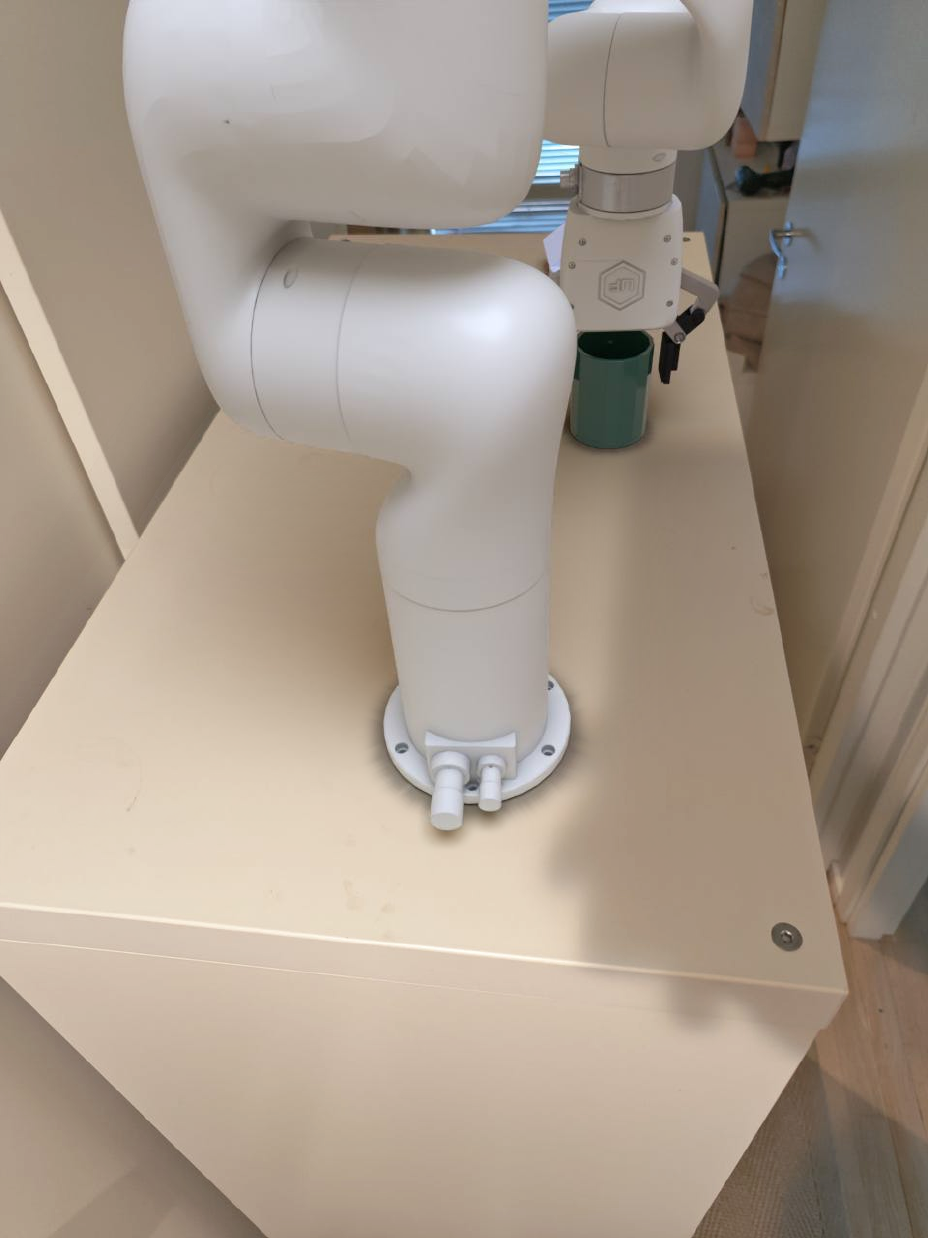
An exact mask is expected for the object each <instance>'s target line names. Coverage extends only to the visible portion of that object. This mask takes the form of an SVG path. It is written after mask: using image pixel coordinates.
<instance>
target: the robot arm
mask: <svg viewBox="0 0 928 1238" xmlns="http://www.w3.org/2000/svg"><path fill="white" fill-rule="evenodd" d="M128 1H129V2H128V5H127V10H126V14H125V20H124V21H125V22H124V27H123V33H122V35H123V36H122V61H121V70H122V71H121V74H122V87H123V100H124V105H125V112H126V117H127V122H128V128H129V131H130V135H131V136H130V137H131V140H132V144H133V148H134V151H135V155H136V159H137V163H138V167H139V171H140V174H141V178H142V182H143V184H144V188H145V191H146V194H147V198H148V202H149V203H150V208H151V211H152V215H153V218H154V222H155V224H156V225H155V226H156V228H157V231H158V235H159V238H160V242H161V245H162V248H163V251H164V255H165V258H166V261H167V265H168V268H169V272H170V275H171V278H172V281H173V285H174V289H175V291H176V295H177V299H178V301H179V304H180V308H181V312H182V314H183V319H184V322H185V324H186V325H185V326H186V328H187V332H188V335H189V338H190V341H191V344H192V347H193V350H194V353H195V357H196V360H197V363H198V365H199V368H200V371H201V374H202V377H203V379H204V381H205V383H206V386H207V388H208V390H209V391H210V393H211V396H212V397H213V400H214V401H215V403H216V404H217V406H218V407H219V408H220V410H221V411H222V412H223V413H224V415H226V416H227V418H229V420H230V421H232V422H233V423H234V424H235V425H236V426H238V427H240V428H241V429H242V430H245V431H246V432H248V433H250V434H253V435H256V436H259V437H262V438H266V439H270V440H273V441H278V442H283V443H289V444H294V445H299V446H304V447H311V448H317V449H324V450H329V451H336V452H341V453H347V454H353V455H360V456H364V457H366V458H369V459H376V460H381V461H386V462H391V463H394V464H396V465H399V466H401V467H403V468H405V469H406V471H405V472H404V473H403V474H402V475H401V476H400V478H399V479H398V480H397V481H396V482H395V484H394V485H393V486H392V487H391V489H390V490H389V492H388V493H387V495H386V497H385V499H384V500H383V503H382V504H381V506H380V509H379V512H378V516H377V520H376V523H375V524H376V525H375V547H376V554H377V555H376V556H377V560H378V566H379V570H380V577H381V583H382V589H383V594H384V601H385V606H386V607H385V608H386V613H387V619H388V625H389V630H390V637H391V642H392V648H393V655H394V661H395V667H396V672H397V678H398V684H397V686H396V687H395V688H394V690H393V692H392V693H391V694H390V697H389V699H388V701H387V703H386V706H385V710H384V716H383V721H382V722H383V723H382V725H383V726H382V727H383V737H384V741H385V745H386V750H387V753H388V756H389V757H390V760H391V761H392V763H393V765H394V766H395V768H396V769H397V770H398V771H399V773H400V774H401V775H402V777H404V778H405V779H406V780H407V781H408V782H409V783H411V784H412V785H413V786H414V787H416V788H417V789H419V790H421V791H422V792H425V793H426V794H429V795H430V796H431V803H430V813H429V823H430V825H431V826H432V827H433V828H435V829H438V830H441V831H453V830H458V829H460V828H461V827H462V825H463V821H464V820H463V818H464V805H465V804H467V805H469V804H471V805H472V804H473V805H474V804H477V805H478V807H479V809H480V810H482V811H484V812H497V811H498V810H500V809H501V807H502V801H506V800H509V799H512V798H513V797H517V796H519V795H522V794H524V793H526V792H528V791H529V790H531V789H533V788H535V787H536V786H538V785H539V784H541V783H542V782H543V781H544V780H546V778H547V777H548V776H550V775H551V774H552V773H553V772H554V770H555V769H556V767H557V766H558V765H559V764H560V762H561V761H562V759H563V757H564V755H565V753H566V750H567V748H568V745H569V740H570V736H571V721H572V716H571V711H570V704H569V702H568V699H567V696H566V694H565V692H564V690H563V688H562V687H561V685H560V684H559V682H558V681H557V680H556V678H554V676H553V675H551V674H550V672H549V670H550V667H549V666H550V665H549V664H550V627H551V626H550V622H551V621H550V620H551V584H552V583H551V581H552V580H551V579H552V578H551V576H552V531H553V530H552V529H553V528H552V527H553V526H552V525H553V506H554V505H553V504H554V493H555V492H554V491H555V480H556V473H557V465H558V459H559V453H560V446H561V441H562V435H563V430H564V425H565V421H566V415H567V411H568V407H569V401H570V398H571V388H572V383H573V378H574V370H575V363H576V356H577V334H578V333H579V332H606V331H640V330H645V331H655V330H661V329H662V330H664V331H662V332H661V340H660V347H659V357H658V364H657V365H658V366H657V367H658V373H659V379H660V383H662V384H663V385H670V381H671V375H672V374H671V373H672V372H677V371H678V367H679V361H680V360H679V359H680V352H681V346H682V344H683V343H684V342H685V341H686V339H687V336H689V334H691V333H692V332H693V331H694V330H695V329H697V328H698V327H699V326H700V325H701V324H702V323H704V321H705V319H706V316H707V314H708V313H710V311H711V310H712V309H713V307H714V305H715V304H716V302H718V300H719V298H720V295H721V293H720V289H719V286H718V285H717V284H716V283H714V282H712V281H711V280H708V279H706V278H705V277H703V276H700V275H698V274H696V273H694V272H693V271H691V270H688V269H686V267H685V268H684V267H683V257H684V256H683V253H684V218H683V206H682V205H683V204H682V202H681V200H680V198H679V197H678V196H677V195H676V194H674V185H675V184H674V183H675V177H676V176H675V175H676V167H677V159H678V151H699V150H702V149H706V148H709V147H712V146H713V145H715V144H716V143H717V142H719V141H720V140H721V139H723V137H725V135H726V134H727V133H728V132H729V130H730V129H731V127H732V126H733V124H734V122H735V120H736V118H737V115H738V113H739V110H740V107H741V103H742V100H743V97H744V91H745V85H746V80H747V73H748V65H749V56H750V44H751V34H752V23H753V11H754V0H593V1H592V2H591V4H590V5H589V7H588V8H587V9H584V10H580V11H574V12H568V13H565V14H562V15H559V16H557V17H555V18H554V19H552V20H550V21H549V10H550V9H549V6H550V5H549V3H550V0H128ZM544 140H545V141H547V142H549V143H552V144H557V145H562V146H572V147H578V156H577V157H578V159H577V163H574V167H570V168H569V169H567V170H566V169H565V170H560V171H559V189H560V190H569V191H571V192H572V191H573V194H574V195H575V196H573V197H572V198H571V199H570V201H569V204H568V208H567V212H566V218H565V221H566V222H565V221H564V222H565V227H564V237H563V242H562V251H561V262H560V270H558V271H556V272H554V273H552V274H550V275H549V274H548V275H546V274H545V273H544V272H543V271H540V270H539V269H537V268H536V267H534V266H531V265H529V264H527V263H525V262H522V261H519V260H516V259H513V258H509V257H505V256H502V255H499V254H495V253H490V252H483V251H477V250H469V249H468V250H467V249H457V248H456V249H454V248H444V247H433V246H423V245H412V244H401V243H390V242H386V243H373V242H372V243H371V242H359V241H350V240H340V239H339V240H336V239H329V238H328V239H325V238H316V237H314V235H313V231H312V227H311V222H312V223H323V224H325V223H326V224H337V225H349V226H364V227H374V228H375V227H376V228H392V229H405V230H406V229H407V230H408V229H409V230H462V229H463V230H464V229H465V230H466V229H472V228H477V227H482V226H486V225H490V224H492V223H495V222H497V221H499V220H501V219H503V218H504V217H508V216H509V215H510V214H511V213H512V212H514V211H515V210H516V208H517V207H518V206H519V205H521V203H522V202H523V201H524V200H525V199H526V198H527V196H528V194H529V192H530V189H531V187H532V185H533V183H534V181H535V178H536V176H537V173H538V169H539V166H540V165H539V164H540V161H541V156H542V151H543V150H542V149H543V142H544ZM681 290H683V291H686V292H687V293H689V294H691V295H693V296H695V297H696V298H695V300H694V303H693V304H691V305H690V306H688V307H687V308H686V309H685V310H683V312H682V313H681V314H678V313H679V308H680V299H681V298H680V297H681Z"/></svg>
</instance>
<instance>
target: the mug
mask: <svg viewBox="0 0 928 1238" xmlns="http://www.w3.org/2000/svg"><path fill="white" fill-rule="evenodd" d="M654 355H655V340H654V337H653V336H652V335H651V334H650V333H649V332H648V331H647V330H640V331H606V332H577V356H576V363H575V370H574V378H573V383H572V388H571V393H570V414H569V415H570V418H569V421H570V422H569V423H570V424H569V428H570V432H571V435H572V436H573V437H574V438H575V439H576V440H577V441H578V442H580V443H582V444H584V445H587V446H589V447H593V448H598V449H620V448H625V447H627V446H631V445H633V444H634V443H637V441H639V440H640V439H641V438H642V437H643V435H644V434H645V431H646V426H647V417H648V409H649V399H650V391H651V382H652V373H653V372H652V371H653V364H654V363H653V362H654Z"/></svg>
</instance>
